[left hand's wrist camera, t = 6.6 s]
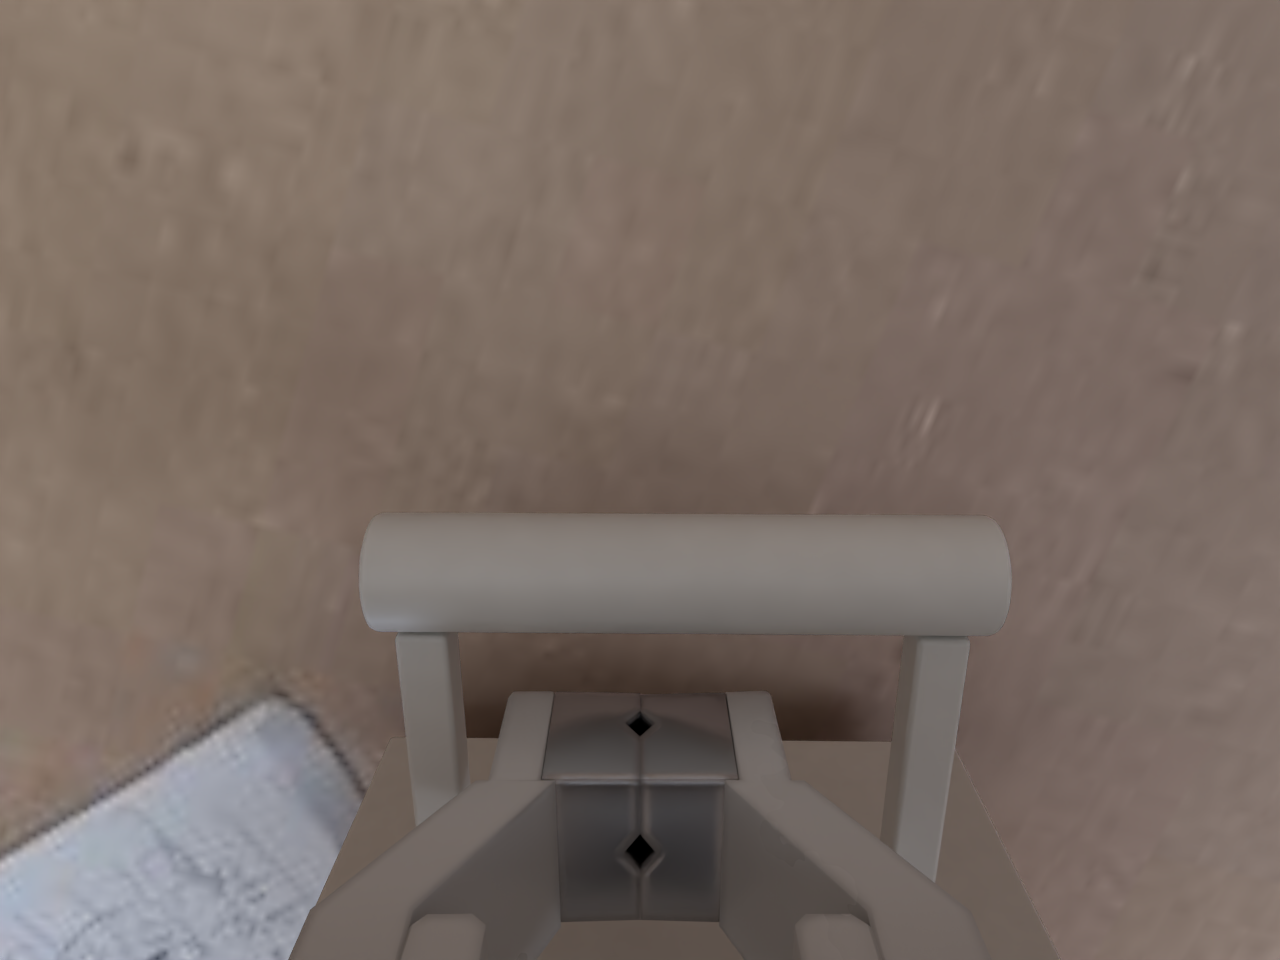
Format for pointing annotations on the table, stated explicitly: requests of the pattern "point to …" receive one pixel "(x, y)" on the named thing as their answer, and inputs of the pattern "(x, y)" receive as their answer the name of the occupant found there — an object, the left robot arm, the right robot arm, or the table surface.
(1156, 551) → the table surface
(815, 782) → the drawer
